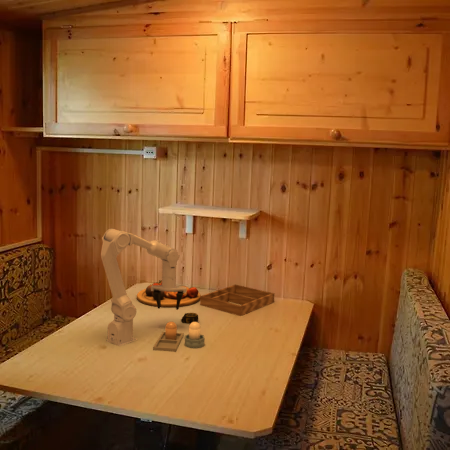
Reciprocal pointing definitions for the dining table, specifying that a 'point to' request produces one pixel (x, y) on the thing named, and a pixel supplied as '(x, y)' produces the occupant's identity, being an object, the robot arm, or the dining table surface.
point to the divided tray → (168, 343)
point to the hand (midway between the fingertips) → (168, 308)
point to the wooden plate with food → (168, 297)
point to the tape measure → (189, 318)
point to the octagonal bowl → (194, 342)
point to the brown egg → (171, 331)
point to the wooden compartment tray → (237, 299)
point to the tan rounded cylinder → (194, 331)
